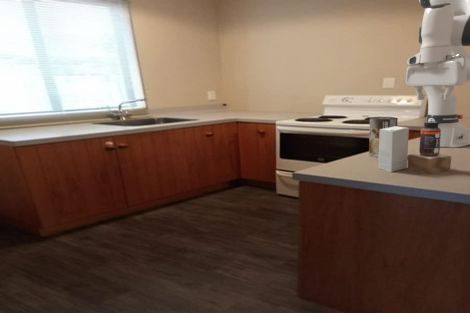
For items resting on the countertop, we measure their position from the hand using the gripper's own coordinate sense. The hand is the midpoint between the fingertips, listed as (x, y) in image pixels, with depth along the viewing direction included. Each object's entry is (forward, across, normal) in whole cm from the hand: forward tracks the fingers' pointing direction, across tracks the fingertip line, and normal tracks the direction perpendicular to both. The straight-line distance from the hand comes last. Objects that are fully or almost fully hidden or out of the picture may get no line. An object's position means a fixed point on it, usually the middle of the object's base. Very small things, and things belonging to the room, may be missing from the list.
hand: (432, 100), depth 110 cm
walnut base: (+24, 0, 0) cm, 24 cm away
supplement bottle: (+19, 0, 0) cm, 19 cm away
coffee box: (+24, +24, -2) cm, 34 cm away
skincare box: (+24, +6, +10) cm, 27 cm away
